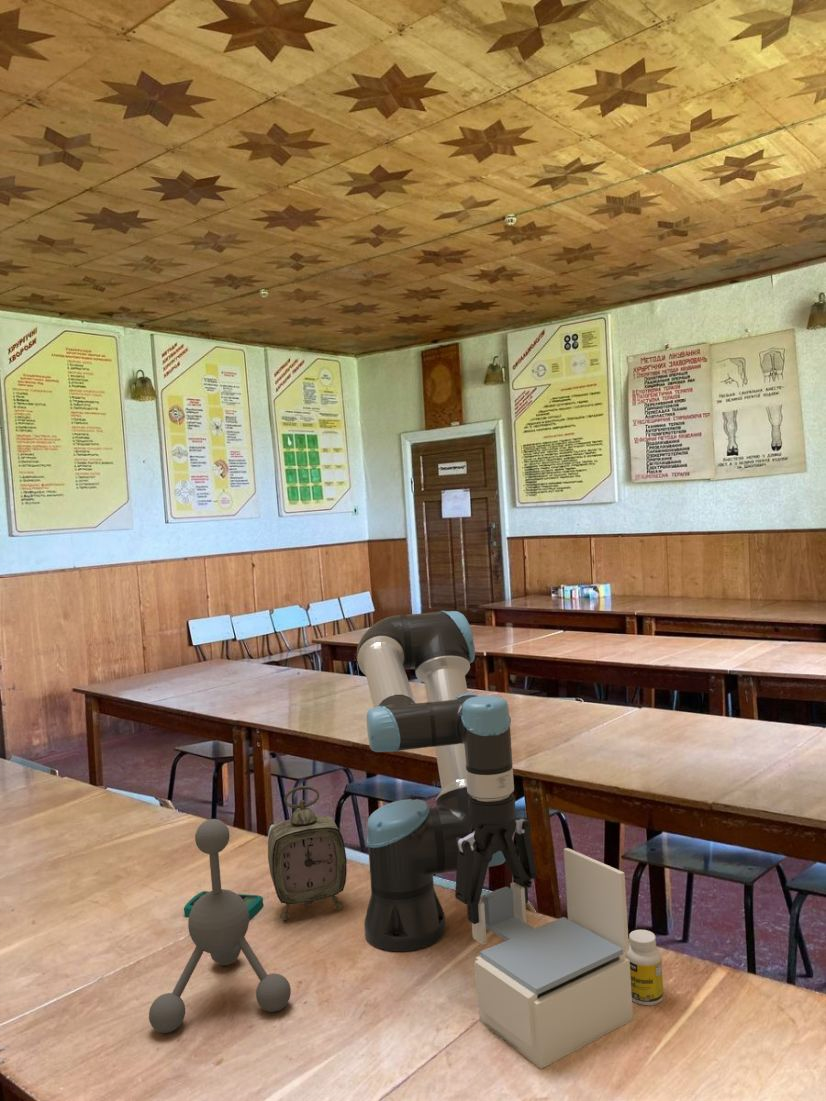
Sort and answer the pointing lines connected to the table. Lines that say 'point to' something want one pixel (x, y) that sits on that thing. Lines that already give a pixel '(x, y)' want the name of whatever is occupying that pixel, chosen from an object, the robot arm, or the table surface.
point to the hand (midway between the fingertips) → (500, 932)
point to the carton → (579, 1003)
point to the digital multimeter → (252, 901)
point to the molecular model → (217, 938)
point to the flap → (540, 946)
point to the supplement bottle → (645, 968)
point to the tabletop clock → (306, 857)
